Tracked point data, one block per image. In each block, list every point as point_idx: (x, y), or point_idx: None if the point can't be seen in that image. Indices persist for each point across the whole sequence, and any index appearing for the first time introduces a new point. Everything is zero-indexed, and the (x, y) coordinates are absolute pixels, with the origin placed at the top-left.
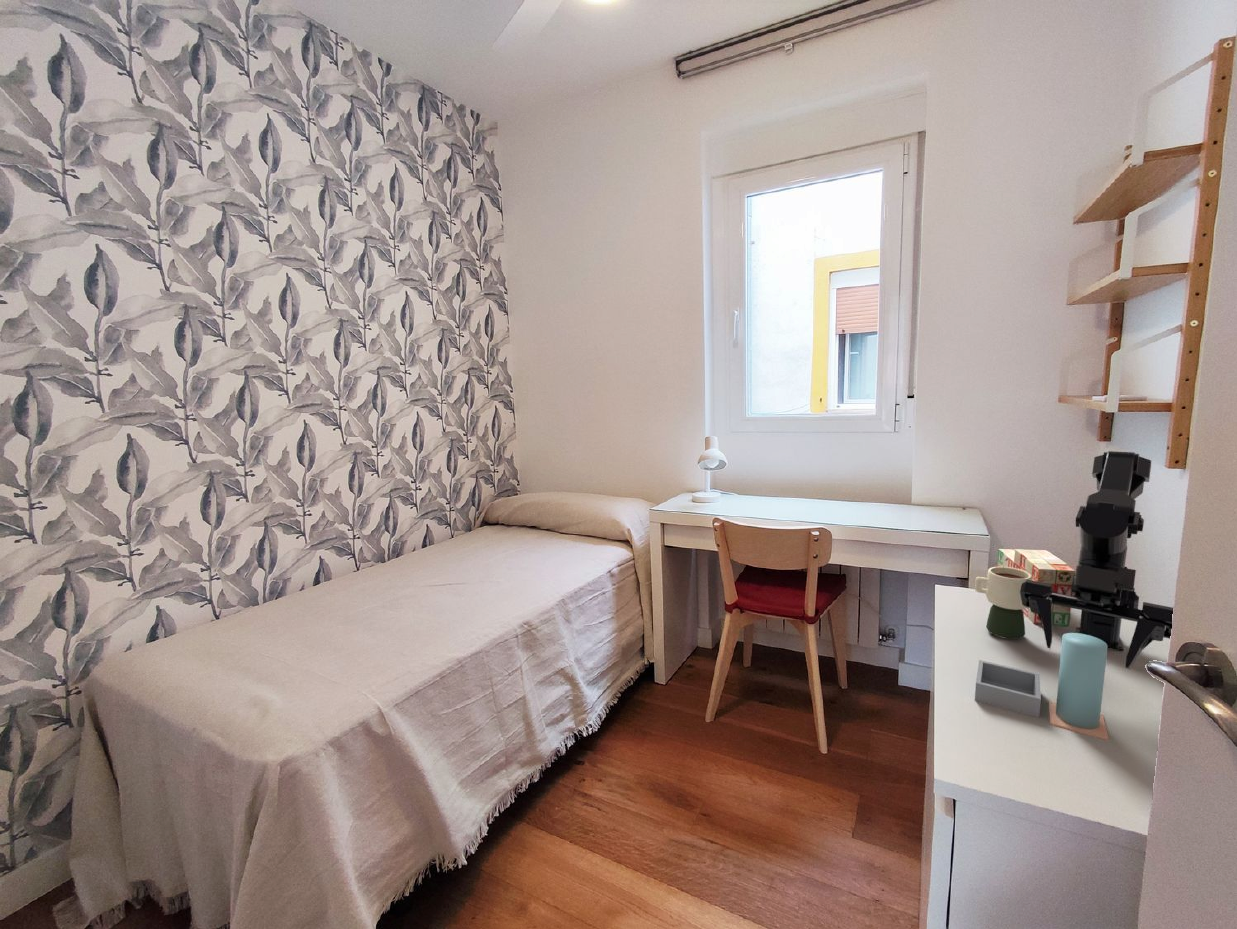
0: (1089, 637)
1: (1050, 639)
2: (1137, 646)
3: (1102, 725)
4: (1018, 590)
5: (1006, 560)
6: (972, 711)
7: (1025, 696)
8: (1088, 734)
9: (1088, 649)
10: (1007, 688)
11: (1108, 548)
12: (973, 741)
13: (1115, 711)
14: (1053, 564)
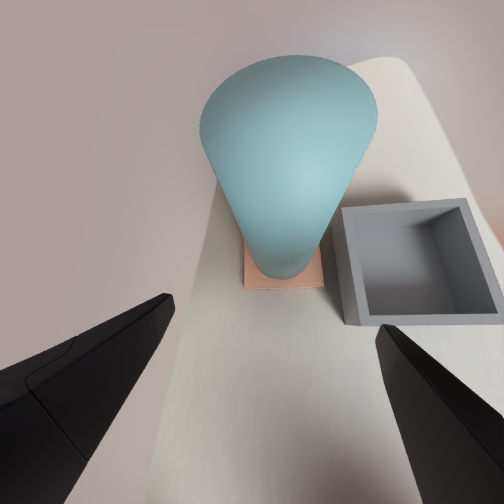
0: (261, 165)
1: (397, 340)
2: (86, 333)
3: (247, 252)
4: None
5: None
6: (423, 190)
7: (366, 206)
8: None
9: (270, 63)
10: (398, 297)
11: None
12: (395, 123)
13: (224, 329)
14: None
